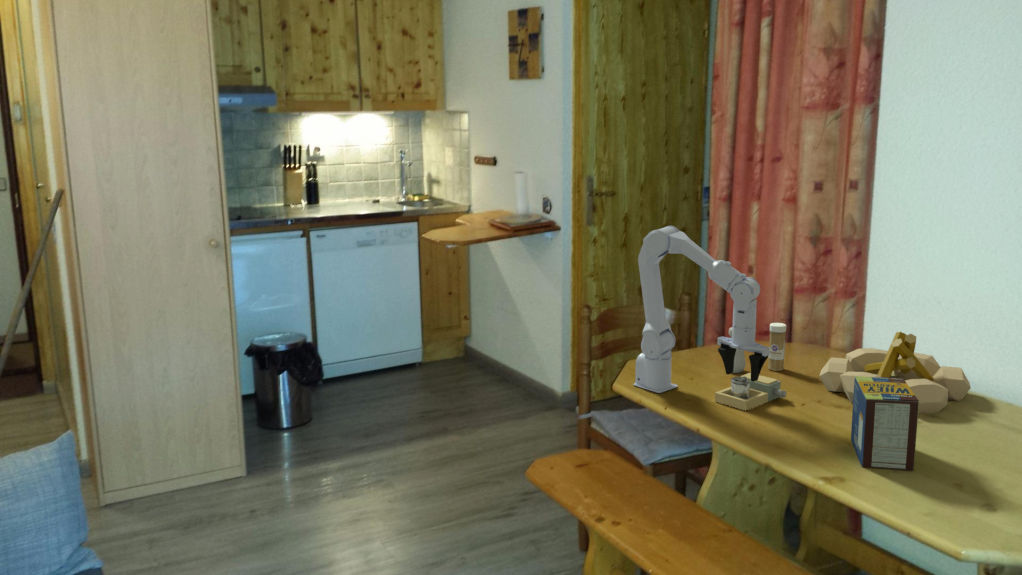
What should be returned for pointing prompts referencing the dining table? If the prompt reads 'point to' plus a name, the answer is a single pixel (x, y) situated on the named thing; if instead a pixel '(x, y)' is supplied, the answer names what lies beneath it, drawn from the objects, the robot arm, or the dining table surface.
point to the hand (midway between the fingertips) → (741, 377)
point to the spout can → (740, 387)
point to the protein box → (884, 423)
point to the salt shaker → (738, 358)
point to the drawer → (752, 393)
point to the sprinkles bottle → (777, 346)
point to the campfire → (899, 373)
